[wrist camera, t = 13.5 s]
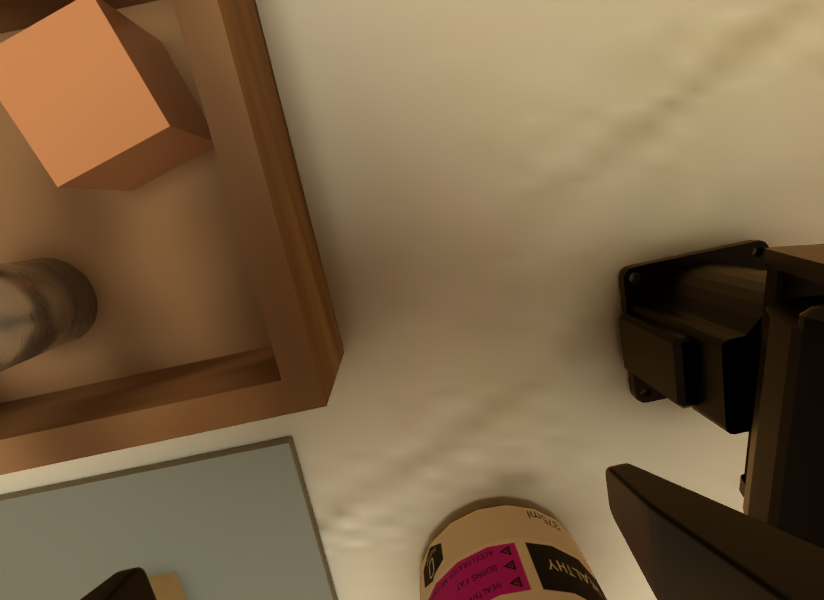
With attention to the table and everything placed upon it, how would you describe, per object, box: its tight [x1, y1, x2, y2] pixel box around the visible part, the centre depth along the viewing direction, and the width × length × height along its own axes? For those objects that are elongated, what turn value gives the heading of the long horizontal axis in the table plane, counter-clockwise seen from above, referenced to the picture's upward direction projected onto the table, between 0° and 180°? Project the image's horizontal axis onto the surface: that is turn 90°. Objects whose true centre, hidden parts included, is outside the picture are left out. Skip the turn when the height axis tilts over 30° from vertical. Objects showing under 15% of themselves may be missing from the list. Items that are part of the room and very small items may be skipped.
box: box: [0, 0, 344, 475], centre depth 16 cm, size 16×16×6 cm
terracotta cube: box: [0, 0, 214, 191], centre depth 15 cm, size 4×4×4 cm
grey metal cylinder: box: [0, 257, 98, 372], centre depth 16 cm, size 4×4×4 cm
